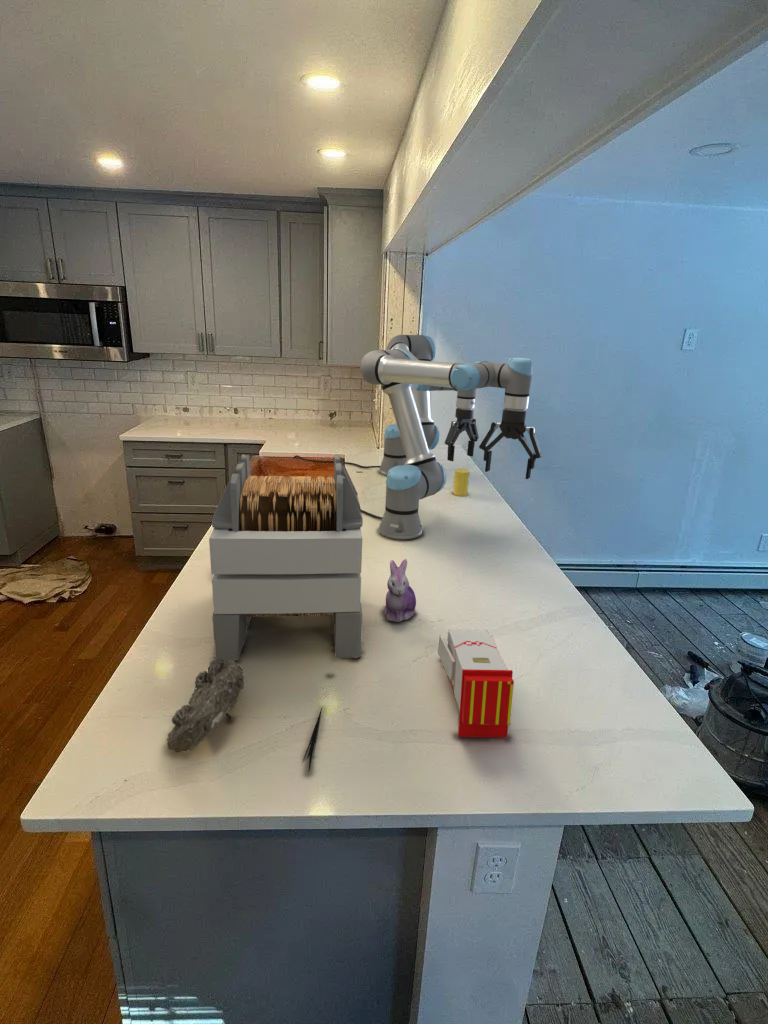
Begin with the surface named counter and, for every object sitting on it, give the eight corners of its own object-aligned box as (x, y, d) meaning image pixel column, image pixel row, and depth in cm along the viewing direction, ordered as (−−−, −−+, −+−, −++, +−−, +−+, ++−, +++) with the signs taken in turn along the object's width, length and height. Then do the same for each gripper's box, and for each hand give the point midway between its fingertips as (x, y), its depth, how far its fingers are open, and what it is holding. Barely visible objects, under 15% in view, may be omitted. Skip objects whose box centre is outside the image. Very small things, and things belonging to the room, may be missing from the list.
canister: (453, 490, 250) (455, 467, 247) (467, 492, 250) (469, 469, 246) (452, 495, 245) (454, 471, 241) (467, 496, 244) (469, 472, 240)
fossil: (192, 660, 117) (244, 628, 112) (224, 691, 120) (276, 661, 115) (142, 746, 98) (202, 712, 93) (182, 779, 101) (242, 748, 96)
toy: (488, 613, 130) (523, 677, 101) (484, 667, 133) (517, 744, 104) (435, 612, 130) (455, 676, 101) (432, 666, 133) (451, 743, 103)
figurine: (392, 627, 141) (395, 572, 136) (374, 608, 149) (376, 556, 144) (425, 619, 145) (429, 566, 140) (405, 601, 154) (408, 550, 149)
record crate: (234, 590, 156) (226, 444, 142) (353, 588, 159) (357, 447, 146) (212, 662, 124) (200, 485, 110) (361, 659, 128) (367, 486, 114)
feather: (331, 679, 122) (336, 673, 122) (307, 777, 96) (313, 769, 95) (324, 675, 122) (329, 669, 121) (298, 772, 95) (304, 764, 95)
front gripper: (558, 412, 175) (548, 478, 182) (481, 403, 186) (475, 465, 194) (552, 415, 169) (542, 483, 176) (473, 405, 180) (467, 470, 187)
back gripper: (453, 412, 224) (448, 464, 231) (490, 407, 240) (484, 455, 248) (438, 409, 229) (434, 460, 236) (475, 404, 245) (471, 452, 253)
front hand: (507, 474), depth 185 cm, fingers open, 13 cm apart
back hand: (460, 458), depth 242 cm, fingers open, 13 cm apart
